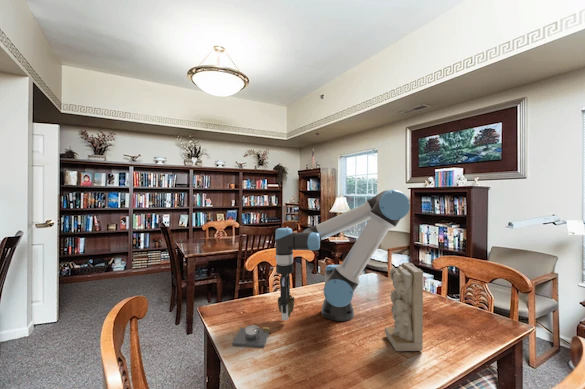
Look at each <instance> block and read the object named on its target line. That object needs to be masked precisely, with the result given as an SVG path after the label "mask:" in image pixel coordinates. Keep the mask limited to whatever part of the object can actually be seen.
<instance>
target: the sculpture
mask: <svg viewBox="0 0 585 389" xmlns="http://www.w3.org/2000/svg"><path fill="white" fill-rule="evenodd" d="M389 279H390V280H392V286H393V288H394V290H391V291H390V293H391V294H389V295H390V296H389V297H390V301H391V303H392V306H391V308H390V311H391V312H392V319H393V320H394V322H393V325H394V326H386V327H384V334H385V337H386V338H387V339H388V341H389V342H390V344H391V345H392V347H393V348H394V350H395V351H396V352H417V351H419V352H420V351H423V345H424V344H423V342H424V340H423V337H424V336H423V333H424V330H423V328H424V325H423V324H424V321H423V320H424V318H423V317H424V315H423V314H424V271H423V270H422V269H421V268H418V267H417V266H415V264H414V263H412V262H402V263H401V265H399V266H398V268H397V269H396V268H391V269H389Z"/></svg>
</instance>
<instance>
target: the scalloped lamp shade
mask: <svg viewBox="0 0 585 389" xmlns="http://www.w3.org/2000/svg"><path fill="white" fill-rule="evenodd" d="M276 301H277V306H278V310H279V313H281V305H279V304H280V303H281V295H280V296H278V297H277V300H276ZM287 304H288V318H290V317H291V315H292V313H293V312H294V308H295V297H294V296H292V295H291V297H290V296H287Z"/></svg>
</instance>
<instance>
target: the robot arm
mask: <svg viewBox="0 0 585 389" xmlns="http://www.w3.org/2000/svg"><path fill="white" fill-rule="evenodd" d="M410 208H411V203H410V199H409V196H408V195H406V194H405V193H404V192H403V191H400V190H397V189H389V190H384V191H381V192H380V193H378V194H376V195H375V196H372V198H369V199H367V200H365V202H364V203H363V204H360V205H359V206H357V207H354V208H352V209H350V210H348V211H345V212H343V213H341V214H338V215H336V216H333V217H331V218H329V219H326V220H325V221H323V222H321V223H318V224H316V225H314V226H311V227H308V228H306V229H304V230H303V231H302V232H293V228H290V227H280V228H279V227H278V228H276V229H275V238H274V240H275V241H274V242H275V256H274V259H275V263H276V264H275V272H276V274H278V275H280V277H279V286H280V296H281V303H280V304H279V305H281V312H280V313H281V321H289V317H288V304H287V296H290V298H291V296H292V295H291V290H290V289H291V288H290V283H291V282H290V280H291V277H290V274H292V273H294V264H293V263H294V251H312V252H313V251H318V250H320V247H321V241H324V240H325V239H327V238H330V237H332V236H334V235H337V234H339V233H341V232H344V231H346V230H349V229H351V228H354V227H356V226H358V225H361V224H362V223H365V222H367V224H366V225H365V226H364V228H363V229H362V231H361V233H360V234H359V236H358V237H357V239H356V241H355V242H354V244H353V245H352V247H351V249H350V250H349V252H348V253H347V255H346V256H345V258H344V260H343V261H342V263H341V264H328V265H326V266H325V270H324V272H325V273H324V274H325V276H324V278H325V279H324V286H323V295H324V299H323V303H322V305H321V312H320V313H321V316H322V317H324V318H325V319H327V320H331V321H334V322H335V321H336V322H344V321H350V320H352V319H353V318H354V316H355V312H354V305H353V303H352V300H353V297H354V292H355V291H356V289H357V288H358V286H359V284H360V279H359V278H360V275H361V274H362V273H363V271H364V269H365V268H366V266H367V265H368V263H369V262H370V260H371V259H372V257H373V255H374V254H375V252H376V251H377V249H378V248H379V246H380V244H381V243H382V242H383V240H384V238H385V237H386V235H387V234H388V232H389V230H390V229H394V228H396V227H397V225H398V224H399V223H400V221H401V220H402V219H403V218H405V217H406V216H407V215H408V214H409V211H410Z"/></svg>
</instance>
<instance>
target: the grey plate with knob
mask: <svg viewBox="0 0 585 389" xmlns="http://www.w3.org/2000/svg"><path fill="white" fill-rule="evenodd" d="M270 332H271V330H270V327H266V326H265V327H264V326H263V327H262V328H260V326H257V325H256V324H251V325H247V326H246V327H240V329H239V330H238V332H237V334H236V336H235V337H234V339H233V341H232V342H231V343H232V344H231V346H233V347H249V348H265V345H266V343H267V340H268V338H269V335H270Z"/></svg>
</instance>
